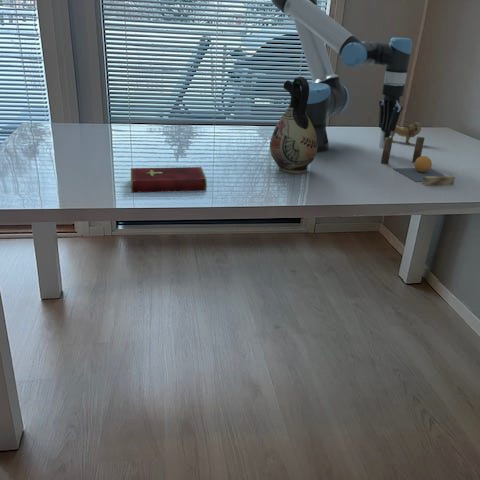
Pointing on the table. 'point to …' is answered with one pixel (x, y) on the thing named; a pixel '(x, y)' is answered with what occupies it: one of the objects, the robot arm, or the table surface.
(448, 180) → the rail
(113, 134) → the table surface
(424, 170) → the ball
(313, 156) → the ceramic jug
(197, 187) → the hardcover book
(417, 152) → the right post
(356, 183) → the table surface
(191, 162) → the table surface
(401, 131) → the lion figurine
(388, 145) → the left post
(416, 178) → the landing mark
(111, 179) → the table surface
